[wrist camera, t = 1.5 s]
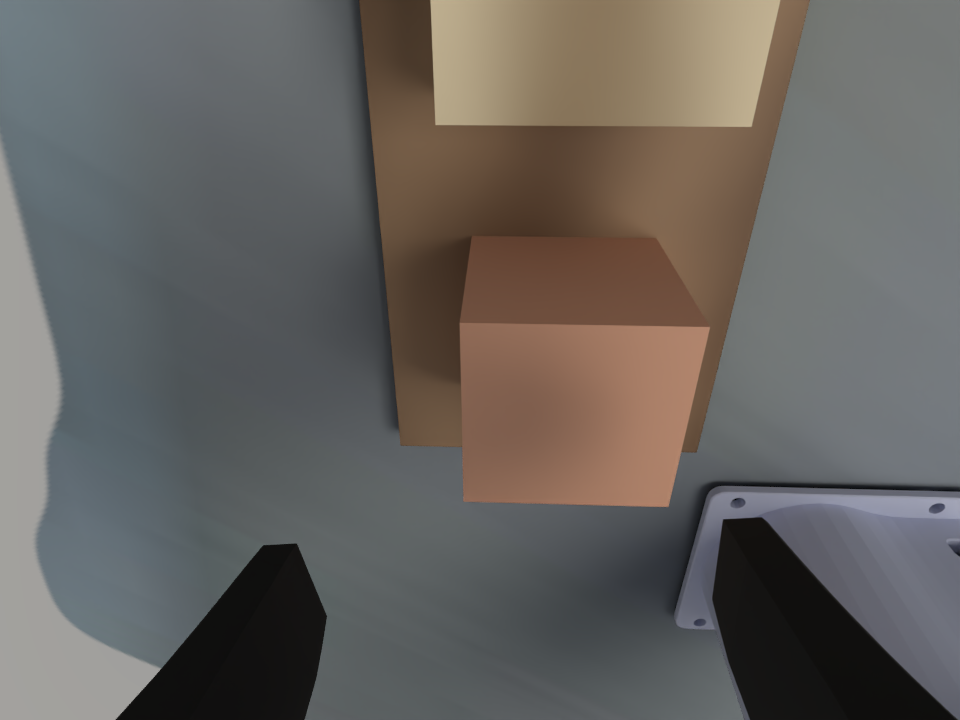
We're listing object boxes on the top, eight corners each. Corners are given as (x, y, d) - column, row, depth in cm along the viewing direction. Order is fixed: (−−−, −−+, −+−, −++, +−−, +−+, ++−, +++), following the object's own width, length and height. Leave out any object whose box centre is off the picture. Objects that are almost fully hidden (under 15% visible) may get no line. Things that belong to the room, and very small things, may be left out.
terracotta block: (656, 237, 16) (710, 327, 12) (631, 389, 19) (668, 507, 14) (471, 236, 16) (459, 322, 12) (473, 386, 19) (463, 501, 15)
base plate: (869, -313, 11) (893, -333, 10) (690, 437, 21) (696, 452, 20) (339, -304, 11) (329, -322, 11) (404, 430, 21) (400, 445, 20)
